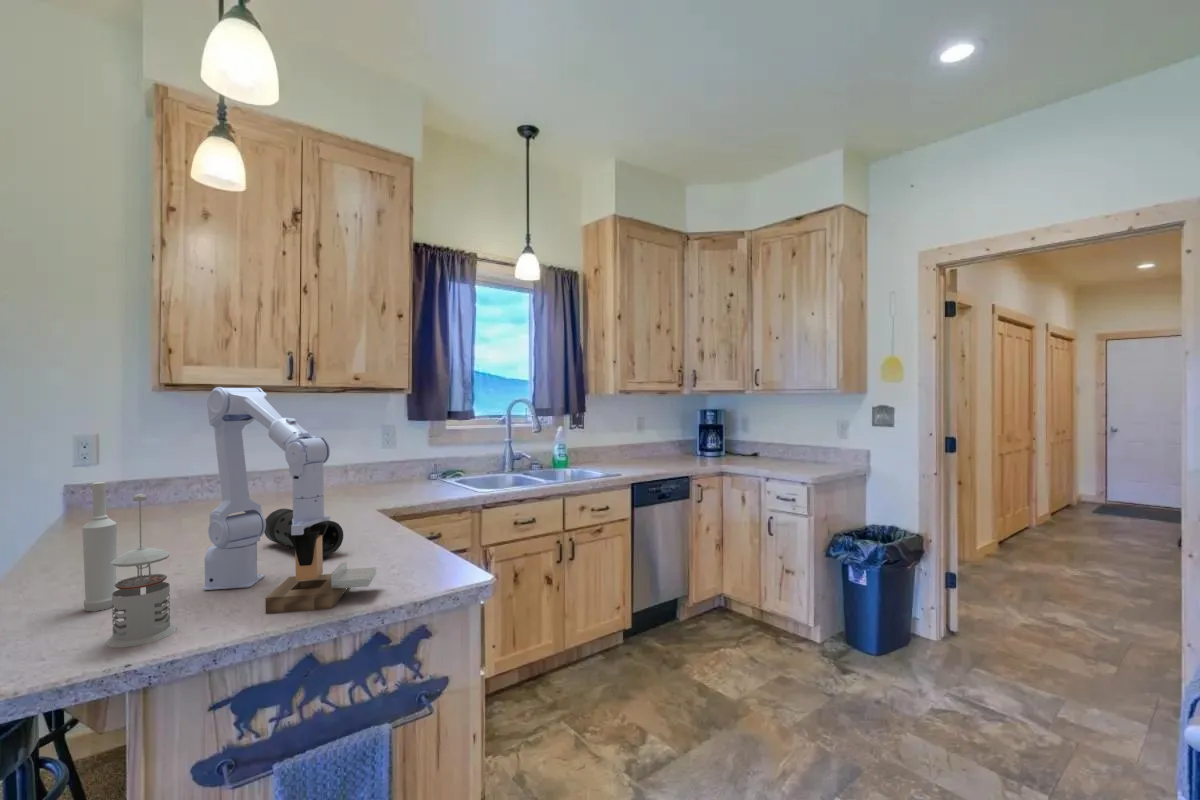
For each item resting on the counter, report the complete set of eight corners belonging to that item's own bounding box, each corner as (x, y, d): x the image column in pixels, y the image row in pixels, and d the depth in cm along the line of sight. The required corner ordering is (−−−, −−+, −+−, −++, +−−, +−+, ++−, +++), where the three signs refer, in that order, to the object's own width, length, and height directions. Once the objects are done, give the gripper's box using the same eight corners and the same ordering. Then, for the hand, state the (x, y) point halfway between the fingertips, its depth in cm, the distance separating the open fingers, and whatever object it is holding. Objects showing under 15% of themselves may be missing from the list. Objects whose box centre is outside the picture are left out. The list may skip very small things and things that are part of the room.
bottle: (115, 600, 116) (113, 480, 116) (120, 606, 113) (118, 482, 113) (81, 608, 112) (79, 483, 112) (86, 614, 109) (84, 485, 109)
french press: (101, 652, 92) (99, 501, 92) (110, 629, 102) (107, 491, 102) (176, 637, 98) (174, 494, 98) (177, 616, 108) (175, 486, 107)
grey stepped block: (331, 588, 113) (331, 573, 113) (341, 576, 121) (341, 562, 121) (368, 586, 115) (368, 571, 115) (376, 574, 122) (376, 560, 122)
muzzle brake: (308, 564, 141) (307, 523, 140) (260, 547, 158) (259, 510, 158) (345, 555, 148) (344, 516, 148) (295, 540, 165) (295, 505, 165)
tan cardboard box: (295, 580, 114) (295, 540, 114) (302, 574, 118) (301, 535, 118) (317, 578, 115) (316, 539, 115) (322, 572, 119) (322, 534, 118)
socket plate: (265, 613, 109) (265, 597, 109) (289, 590, 121) (289, 576, 121) (331, 608, 111) (331, 593, 111) (348, 586, 124) (348, 572, 124)
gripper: (318, 501, 110) (319, 571, 110) (338, 489, 124) (339, 551, 124) (279, 503, 108) (280, 573, 108) (304, 491, 123) (304, 553, 123)
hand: (309, 561), depth 116 cm, fingers closed on tan cardboard box, 4 cm apart
